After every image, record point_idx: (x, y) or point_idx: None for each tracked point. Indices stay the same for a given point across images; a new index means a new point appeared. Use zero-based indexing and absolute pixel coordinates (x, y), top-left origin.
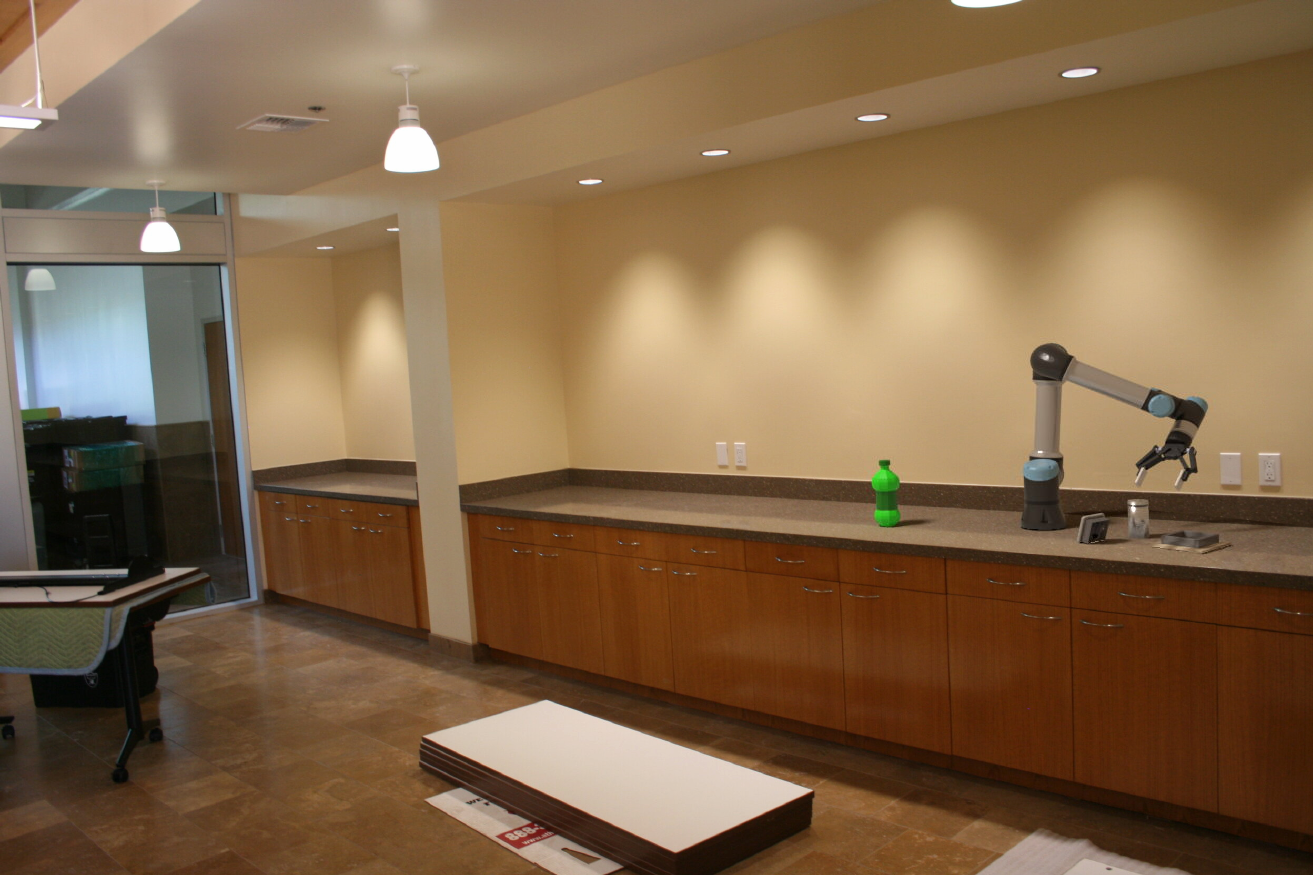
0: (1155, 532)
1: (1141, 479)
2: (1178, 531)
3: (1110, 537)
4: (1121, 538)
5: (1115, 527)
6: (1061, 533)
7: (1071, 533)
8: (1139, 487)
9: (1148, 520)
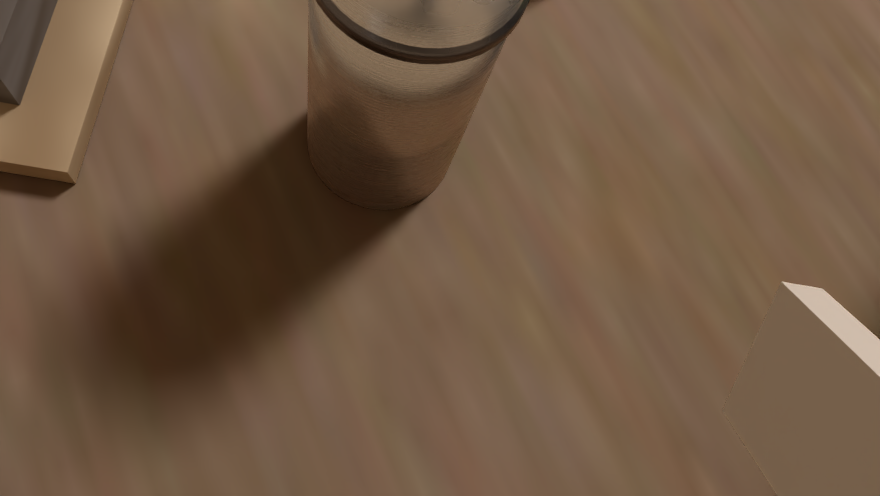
0: (347, 363)
1: (826, 461)
2: (5, 4)
3: (533, 54)
4: None
5: (710, 422)
6: (841, 60)
7: (798, 82)
8: (730, 408)
9: (308, 71)
